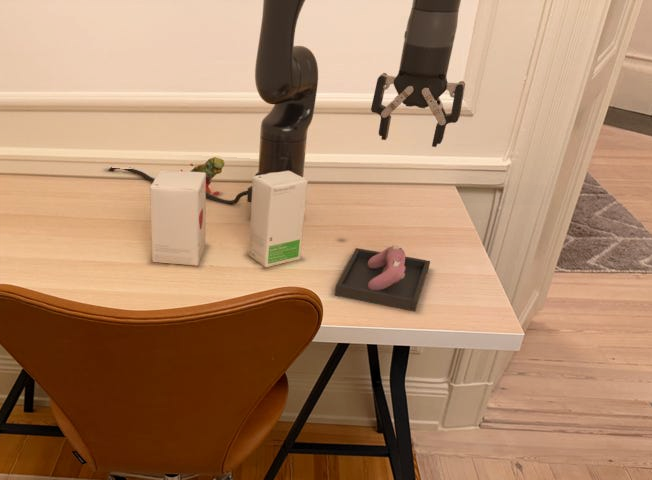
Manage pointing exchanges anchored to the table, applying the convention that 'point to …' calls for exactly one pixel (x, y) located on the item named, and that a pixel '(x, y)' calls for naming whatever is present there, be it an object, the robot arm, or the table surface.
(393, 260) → the video game controller
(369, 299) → the tray
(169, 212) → the rectangular carton
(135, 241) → the table surface
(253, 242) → the cosmetic box
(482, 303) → the table surface
